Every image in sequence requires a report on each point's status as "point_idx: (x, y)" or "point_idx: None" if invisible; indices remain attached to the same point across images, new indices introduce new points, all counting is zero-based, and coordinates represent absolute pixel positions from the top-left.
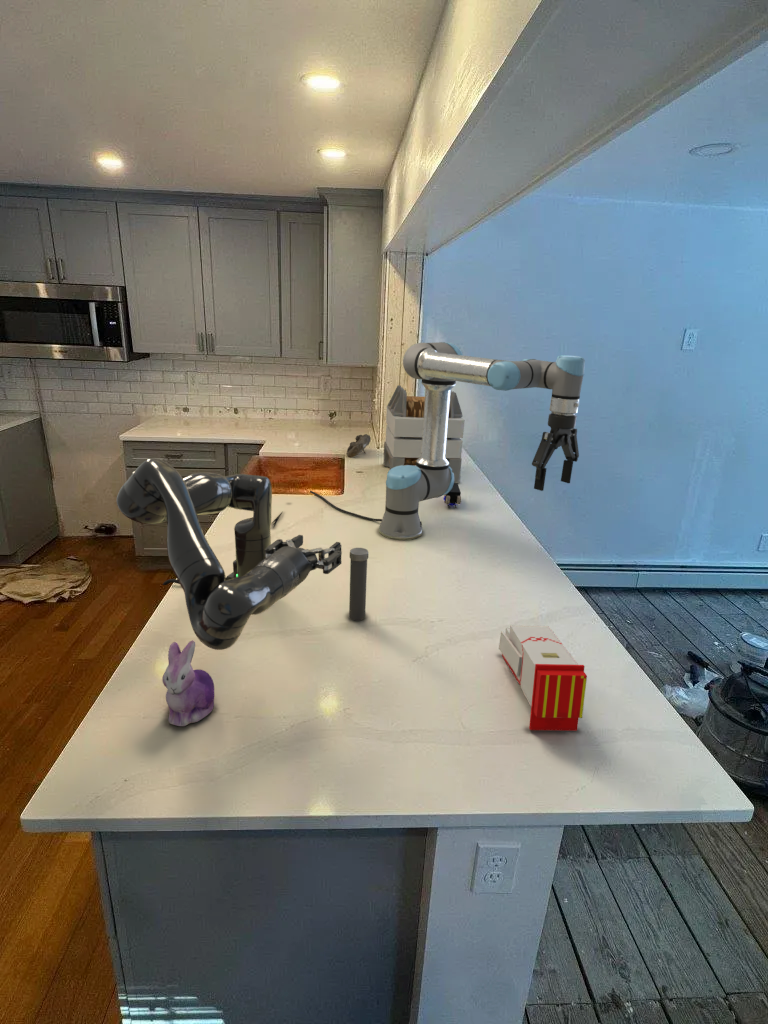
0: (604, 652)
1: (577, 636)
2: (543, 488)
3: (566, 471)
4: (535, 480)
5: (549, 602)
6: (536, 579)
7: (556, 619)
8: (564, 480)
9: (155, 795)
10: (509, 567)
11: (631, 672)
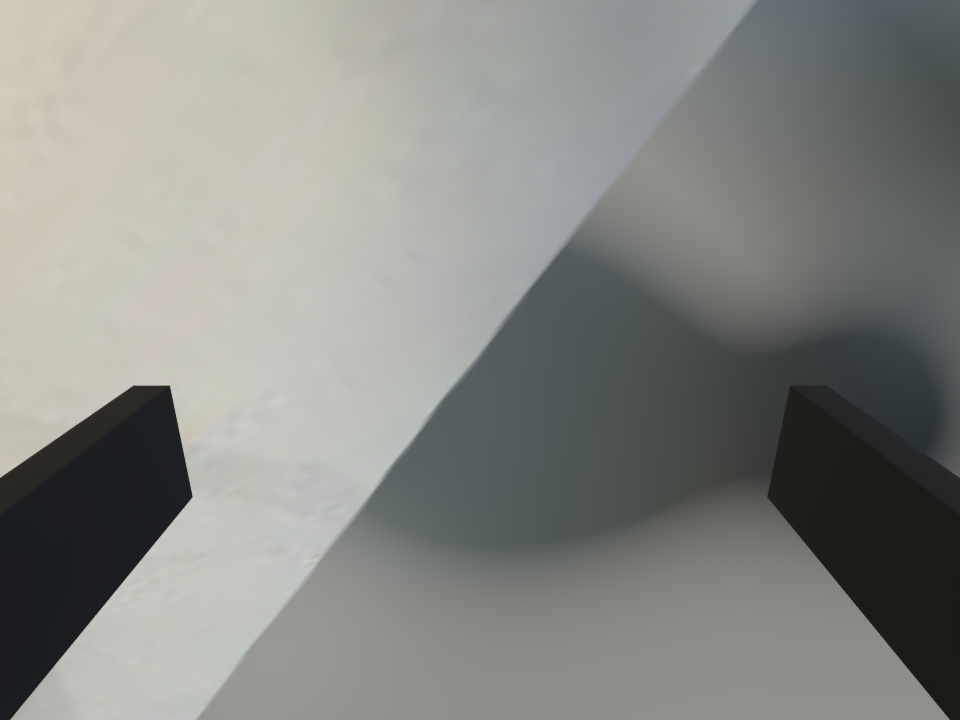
0: (205, 643)
1: (202, 572)
2: (175, 513)
3: (877, 549)
4: (51, 453)
5: (294, 416)
6: (410, 275)
7: (222, 490)
8: (790, 451)
9: None
10: (405, 115)
11: (192, 708)
